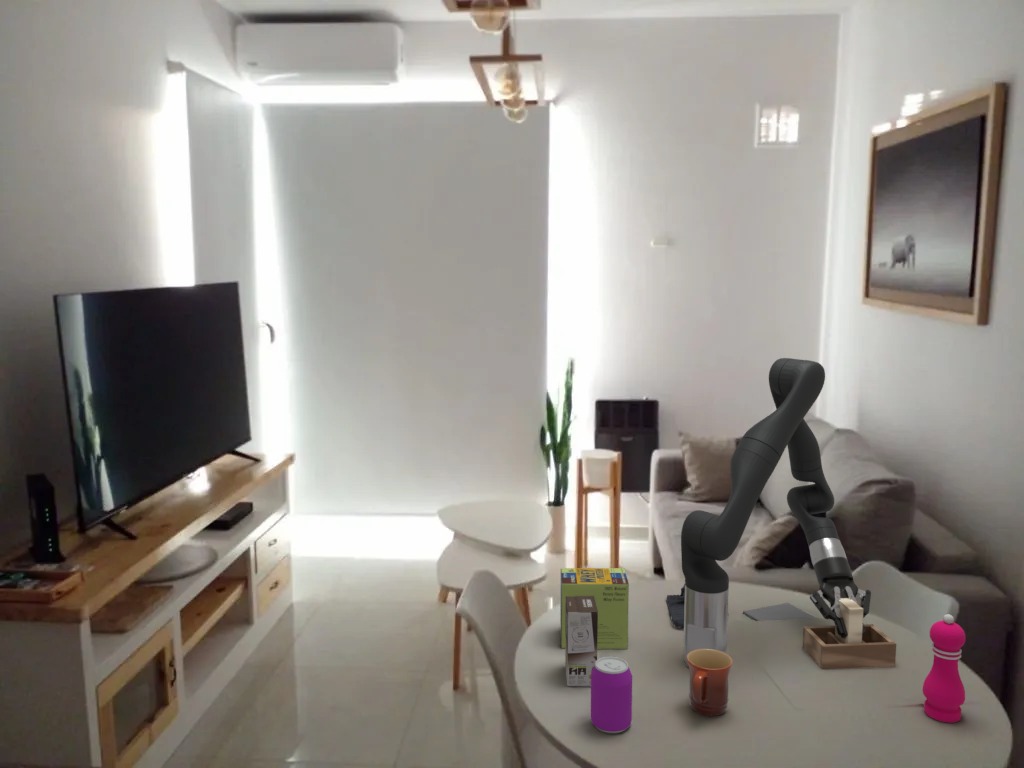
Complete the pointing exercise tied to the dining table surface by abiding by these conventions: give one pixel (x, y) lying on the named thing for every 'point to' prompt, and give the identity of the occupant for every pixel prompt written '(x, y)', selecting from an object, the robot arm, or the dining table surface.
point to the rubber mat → (778, 613)
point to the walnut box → (848, 648)
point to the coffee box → (580, 639)
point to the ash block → (851, 621)
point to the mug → (709, 681)
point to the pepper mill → (945, 672)
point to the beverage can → (611, 695)
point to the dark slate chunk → (677, 607)
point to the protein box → (600, 602)
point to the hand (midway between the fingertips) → (853, 636)
